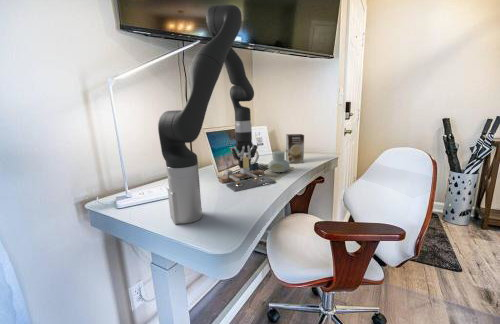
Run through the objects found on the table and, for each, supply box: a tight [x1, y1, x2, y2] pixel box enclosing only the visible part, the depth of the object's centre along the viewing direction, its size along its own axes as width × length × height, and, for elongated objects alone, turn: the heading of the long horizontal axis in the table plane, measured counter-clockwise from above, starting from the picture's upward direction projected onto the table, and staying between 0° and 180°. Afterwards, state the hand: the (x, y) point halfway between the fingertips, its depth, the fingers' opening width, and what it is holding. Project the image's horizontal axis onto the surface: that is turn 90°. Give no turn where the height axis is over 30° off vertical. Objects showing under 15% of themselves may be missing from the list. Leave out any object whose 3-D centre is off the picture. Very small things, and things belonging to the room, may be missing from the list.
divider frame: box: [218, 168, 265, 184], centre depth 117 cm, size 22×13×5 cm, turn 119°
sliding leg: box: [239, 155, 258, 180], centre depth 117 cm, size 3×13×8 cm, turn 29°
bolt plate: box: [225, 175, 276, 192], centre depth 112 cm, size 20×8×1 cm, turn 119°
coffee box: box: [285, 133, 305, 165], centre depth 147 cm, size 9×6×16 cm
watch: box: [243, 148, 260, 171], centre depth 136 cm, size 6×8×11 cm
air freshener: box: [267, 150, 291, 173], centre depth 130 cm, size 11×8×10 cm
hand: (244, 167), depth 121 cm, fingers closed on sliding leg, 3 cm apart
